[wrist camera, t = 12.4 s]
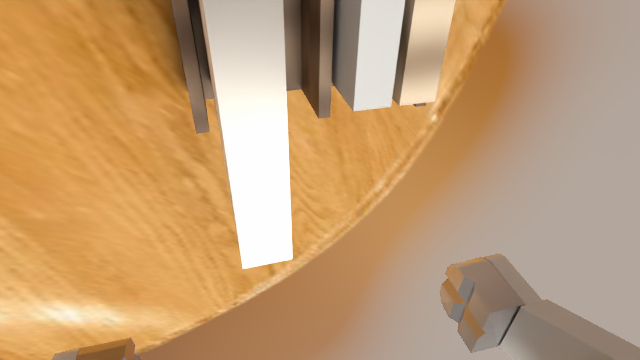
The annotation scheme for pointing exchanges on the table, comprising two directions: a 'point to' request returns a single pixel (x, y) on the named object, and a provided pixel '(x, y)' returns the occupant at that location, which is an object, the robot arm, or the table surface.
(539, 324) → the robot arm
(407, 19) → the tan offcut
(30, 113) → the table surface
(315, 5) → the walnut rack
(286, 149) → the white board
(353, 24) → the grey offcut
